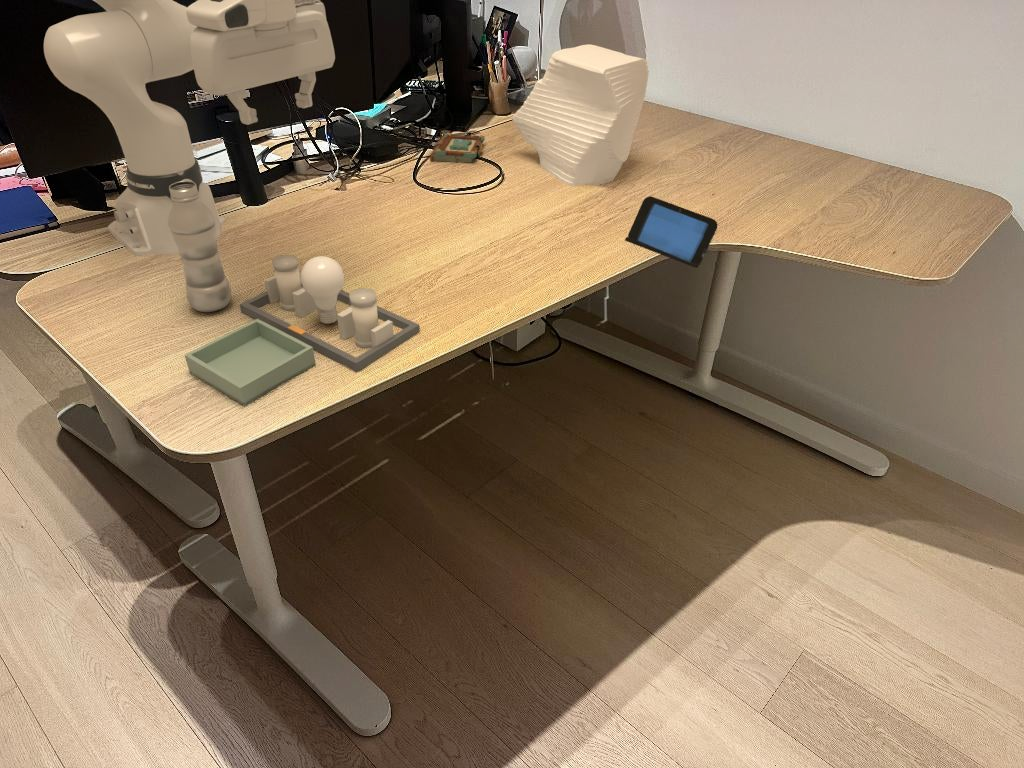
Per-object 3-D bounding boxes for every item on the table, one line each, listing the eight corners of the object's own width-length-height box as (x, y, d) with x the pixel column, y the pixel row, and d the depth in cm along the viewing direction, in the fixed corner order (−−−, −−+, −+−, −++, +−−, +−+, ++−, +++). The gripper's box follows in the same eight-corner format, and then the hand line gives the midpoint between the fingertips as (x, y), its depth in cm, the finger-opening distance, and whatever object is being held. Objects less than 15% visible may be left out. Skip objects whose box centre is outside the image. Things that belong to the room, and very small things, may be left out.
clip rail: (241, 312, 118) (236, 289, 115) (305, 281, 126) (302, 259, 124) (357, 372, 105) (354, 348, 103) (419, 333, 114) (418, 310, 111)
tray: (189, 372, 104) (184, 355, 103) (261, 335, 112) (257, 318, 111) (244, 406, 99) (240, 388, 97) (315, 364, 107) (312, 347, 105)
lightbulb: (352, 311, 118) (344, 248, 112) (346, 333, 113) (338, 268, 107) (312, 311, 118) (301, 248, 112) (304, 333, 113) (293, 268, 106)
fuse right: (349, 342, 111) (343, 295, 107) (368, 331, 114) (363, 285, 109) (367, 351, 110) (362, 304, 105) (386, 340, 112) (381, 293, 107)
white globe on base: (275, 305, 119) (266, 260, 115) (294, 296, 122) (286, 252, 117) (291, 313, 118) (283, 268, 113) (310, 304, 120) (302, 259, 115)
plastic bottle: (181, 309, 118) (147, 187, 106) (216, 292, 123) (187, 173, 111) (208, 321, 115) (176, 198, 103) (243, 303, 120) (216, 183, 108)
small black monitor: (595, 262, 134) (600, 214, 129) (639, 240, 142) (646, 193, 136) (668, 294, 125) (676, 243, 120) (711, 268, 133) (720, 220, 128)
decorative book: (424, 175, 166) (422, 153, 163) (440, 149, 180) (440, 128, 177) (483, 180, 165) (483, 157, 162) (495, 152, 179) (495, 131, 176)
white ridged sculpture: (578, 203, 155) (588, 73, 139) (508, 163, 173) (510, 43, 157) (655, 184, 164) (672, 60, 149) (581, 147, 182) (589, 33, 167)
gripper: (306, -10, 103) (320, 94, 111) (173, 11, 89) (200, 128, 98) (337, -5, 100) (350, 101, 108) (204, 18, 86) (230, 137, 95)
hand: (278, 114), depth 103 cm, fingers open, 8 cm apart
